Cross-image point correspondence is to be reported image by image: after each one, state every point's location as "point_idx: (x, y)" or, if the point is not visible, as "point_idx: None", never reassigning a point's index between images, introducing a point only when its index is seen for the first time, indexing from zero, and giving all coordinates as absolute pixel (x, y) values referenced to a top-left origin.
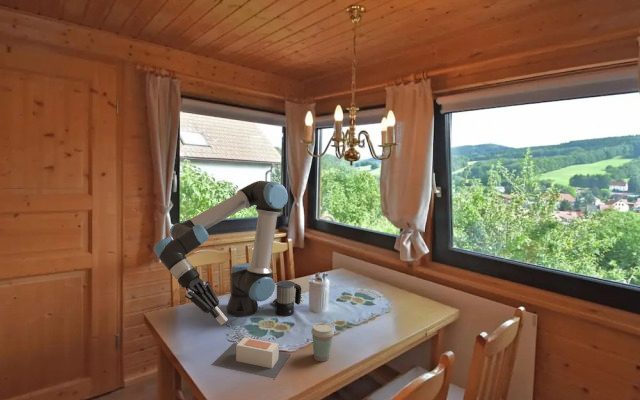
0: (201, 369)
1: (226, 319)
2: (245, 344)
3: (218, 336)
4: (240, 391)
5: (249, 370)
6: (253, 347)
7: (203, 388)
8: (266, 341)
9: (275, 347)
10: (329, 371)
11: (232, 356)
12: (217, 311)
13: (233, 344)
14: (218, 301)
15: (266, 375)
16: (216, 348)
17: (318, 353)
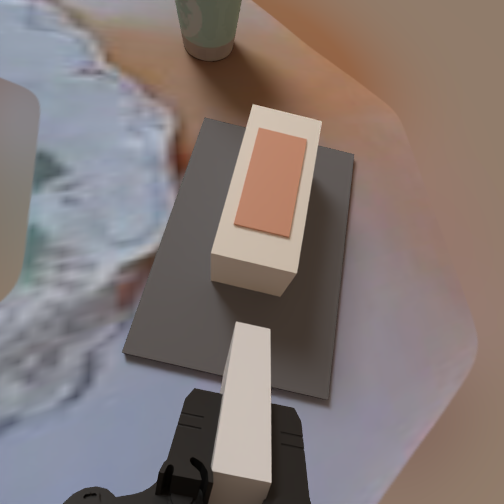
0: (356, 436)
1: (249, 329)
2: (288, 229)
3: (24, 479)
4: (431, 242)
5: (332, 232)
6: (302, 193)
7: (460, 372)
8: (240, 149)
9: (284, 113)
10: (279, 33)
11: (249, 321)
12: (269, 428)
13: (139, 348)
14: (94, 500)
15: (346, 176)
16: (168, 435)
17: (235, 26)
